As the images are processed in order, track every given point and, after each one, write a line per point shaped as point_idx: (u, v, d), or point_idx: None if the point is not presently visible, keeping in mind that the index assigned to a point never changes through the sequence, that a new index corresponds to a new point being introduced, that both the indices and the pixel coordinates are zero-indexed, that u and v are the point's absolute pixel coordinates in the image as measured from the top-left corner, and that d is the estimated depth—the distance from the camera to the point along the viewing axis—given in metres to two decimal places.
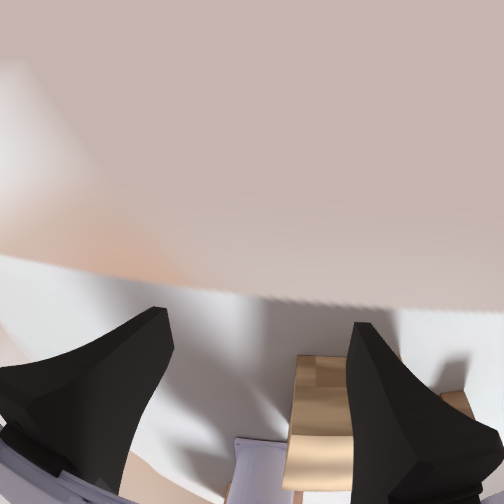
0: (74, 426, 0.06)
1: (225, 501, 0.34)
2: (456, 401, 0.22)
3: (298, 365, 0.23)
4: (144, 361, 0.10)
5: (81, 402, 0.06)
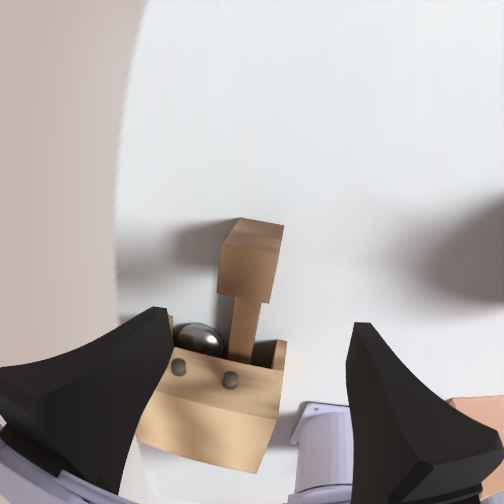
0: (74, 426, 0.06)
1: None
2: None
3: None
4: (144, 361, 0.10)
5: (81, 402, 0.06)
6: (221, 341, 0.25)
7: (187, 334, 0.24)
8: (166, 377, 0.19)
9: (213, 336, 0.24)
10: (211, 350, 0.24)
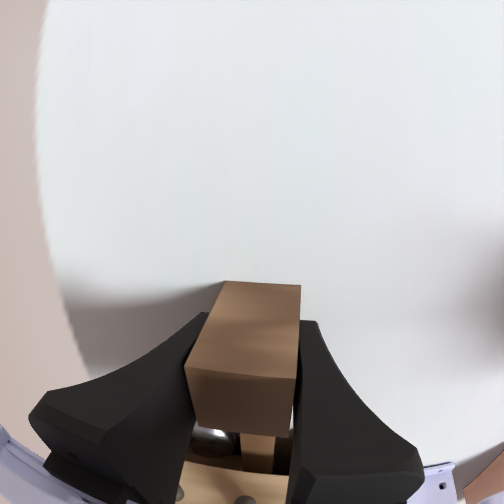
0: (142, 452, 0.05)
1: None
2: None
3: None
4: None
5: (148, 424, 0.06)
6: (232, 433, 0.16)
7: None
8: None
9: (219, 431, 0.16)
10: (220, 444, 0.16)
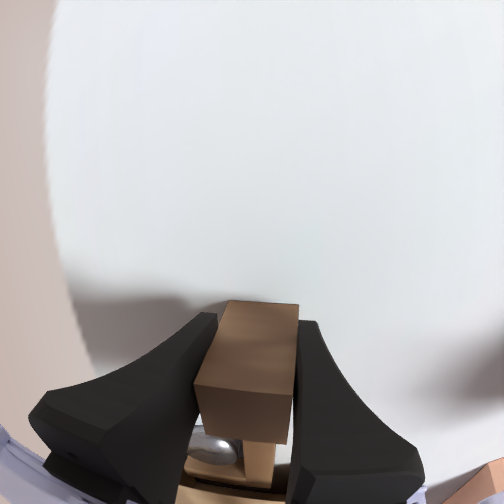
0: (142, 452, 0.05)
1: None
2: None
3: None
4: (198, 371, 0.09)
5: (148, 424, 0.06)
6: (236, 444, 0.17)
7: (192, 441, 0.17)
8: None
9: (224, 443, 0.17)
10: (225, 455, 0.17)
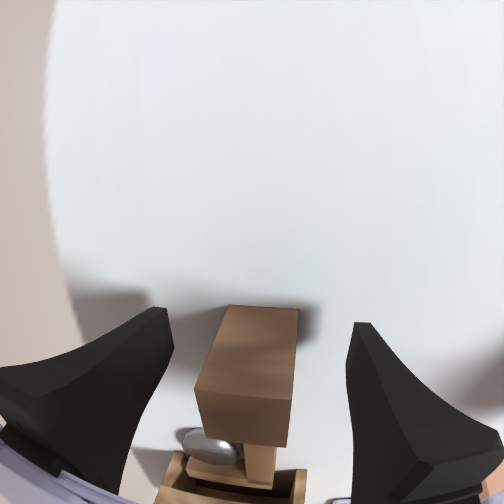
0: (74, 426, 0.06)
1: None
2: None
3: None
4: (144, 361, 0.10)
5: (81, 402, 0.06)
6: (236, 444, 0.17)
7: (193, 441, 0.17)
8: None
9: (225, 443, 0.17)
10: (225, 455, 0.17)
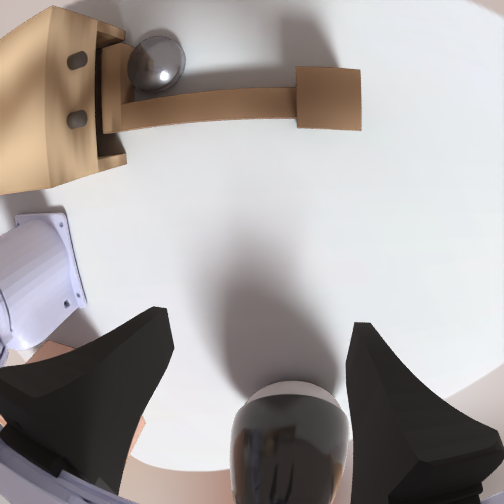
0: (74, 426, 0.06)
1: (32, 356, 0.27)
2: None
3: None
4: (144, 361, 0.10)
5: (81, 402, 0.06)
6: (167, 87, 0.17)
7: (169, 46, 0.16)
8: (63, 51, 0.11)
9: (174, 75, 0.17)
10: (153, 78, 0.17)
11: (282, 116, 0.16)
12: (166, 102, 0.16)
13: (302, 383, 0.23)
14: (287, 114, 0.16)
